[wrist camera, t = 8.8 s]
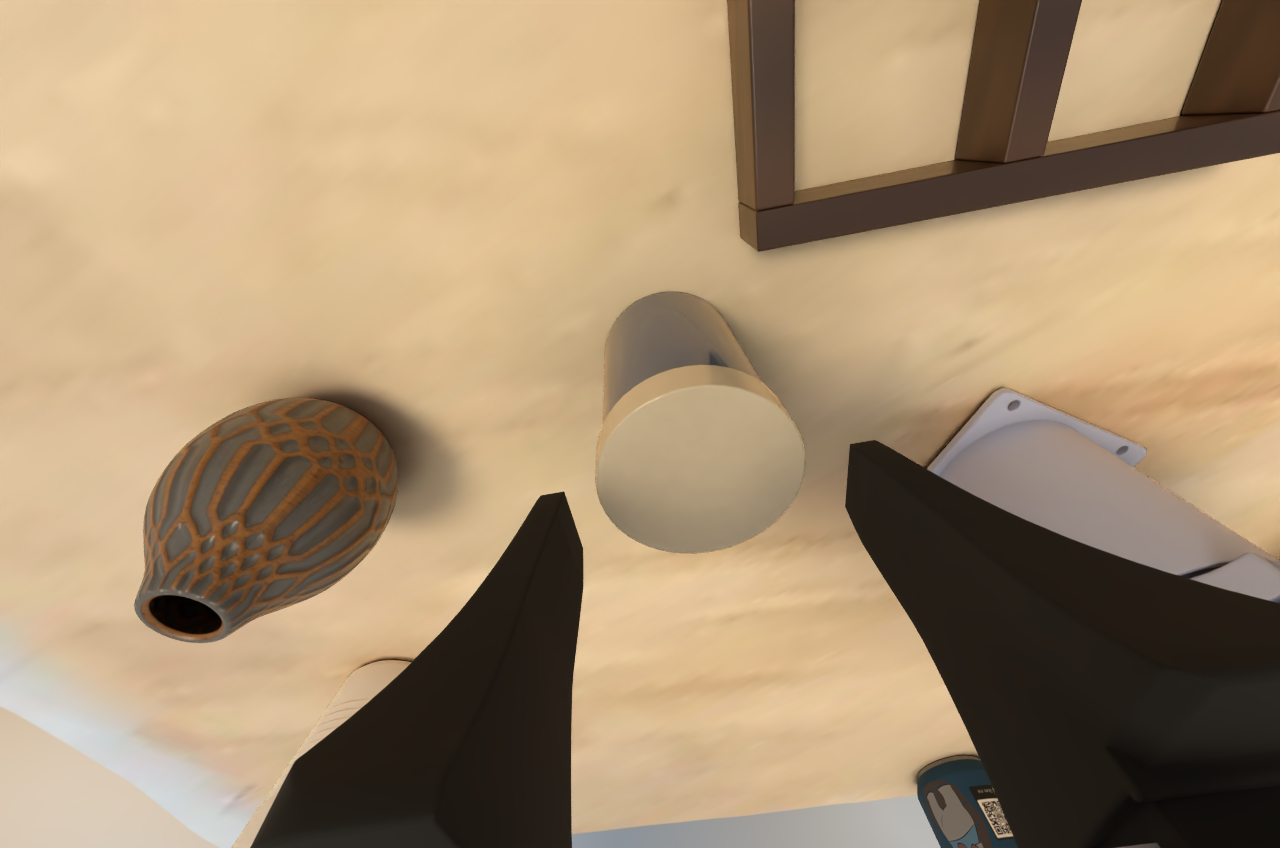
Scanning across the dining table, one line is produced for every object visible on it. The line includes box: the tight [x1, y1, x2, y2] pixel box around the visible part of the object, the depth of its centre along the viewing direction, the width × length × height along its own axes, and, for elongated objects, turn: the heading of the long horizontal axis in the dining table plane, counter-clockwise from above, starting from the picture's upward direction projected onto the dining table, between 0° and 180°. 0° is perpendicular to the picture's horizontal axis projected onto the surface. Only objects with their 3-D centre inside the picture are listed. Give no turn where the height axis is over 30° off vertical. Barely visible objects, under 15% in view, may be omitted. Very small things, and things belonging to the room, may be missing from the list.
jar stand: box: [727, 0, 1280, 251], centre depth 13 cm, size 9×16×2 cm, turn 100°
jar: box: [595, 292, 806, 553], centre depth 16 cm, size 6×6×8 cm
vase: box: [134, 398, 398, 643], centre depth 17 cm, size 7×7×9 cm
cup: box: [231, 660, 412, 848], centre depth 26 cm, size 10×10×11 cm
